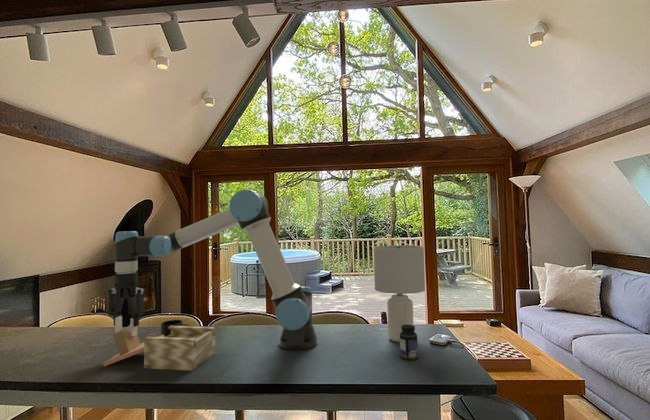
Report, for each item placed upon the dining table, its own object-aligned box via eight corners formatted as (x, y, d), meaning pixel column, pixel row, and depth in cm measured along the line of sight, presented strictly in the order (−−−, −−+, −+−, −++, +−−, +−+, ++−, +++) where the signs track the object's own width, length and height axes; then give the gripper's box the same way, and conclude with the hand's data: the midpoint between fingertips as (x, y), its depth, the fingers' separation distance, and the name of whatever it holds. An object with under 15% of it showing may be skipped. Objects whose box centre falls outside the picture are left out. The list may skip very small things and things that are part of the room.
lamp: (376, 347, 138) (374, 246, 140) (375, 331, 158) (373, 244, 160) (430, 348, 136) (427, 246, 137) (422, 332, 156) (419, 243, 158)
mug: (182, 350, 139) (182, 326, 139) (156, 348, 142) (156, 324, 142) (195, 343, 147) (195, 320, 147) (169, 342, 150) (169, 319, 150)
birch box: (215, 353, 135) (214, 326, 135) (192, 370, 119) (192, 340, 120) (171, 351, 138) (171, 325, 138) (144, 368, 122) (144, 338, 123)
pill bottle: (418, 355, 129) (417, 324, 129) (417, 361, 123) (416, 329, 124) (401, 353, 131) (400, 323, 131) (399, 359, 125) (398, 327, 126)
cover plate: (164, 337, 138) (156, 314, 138) (147, 349, 124) (138, 324, 125) (125, 352, 138) (117, 330, 138) (103, 366, 124) (94, 341, 125)
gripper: (155, 271, 136) (155, 332, 135) (111, 271, 139) (111, 331, 138) (142, 273, 128) (142, 339, 127) (96, 273, 132) (96, 337, 131)
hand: (126, 334), depth 133 cm, fingers open, 6 cm apart
